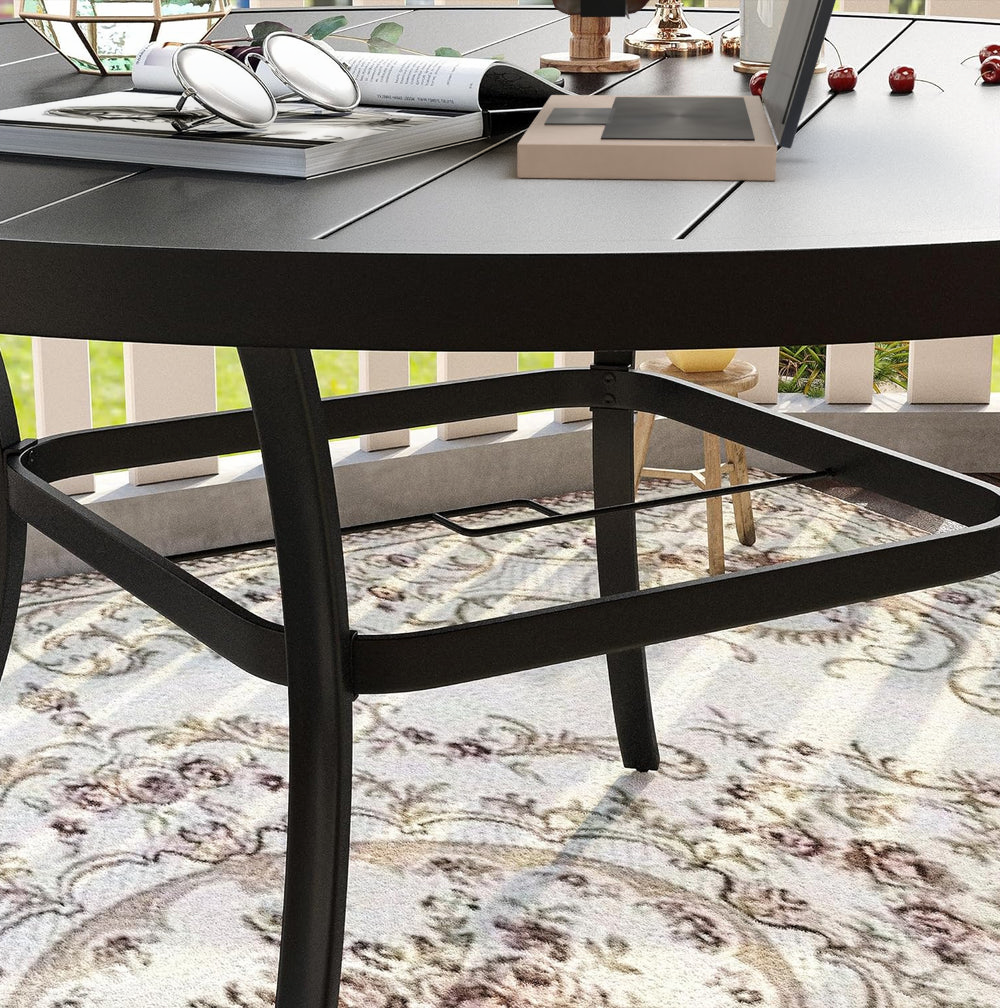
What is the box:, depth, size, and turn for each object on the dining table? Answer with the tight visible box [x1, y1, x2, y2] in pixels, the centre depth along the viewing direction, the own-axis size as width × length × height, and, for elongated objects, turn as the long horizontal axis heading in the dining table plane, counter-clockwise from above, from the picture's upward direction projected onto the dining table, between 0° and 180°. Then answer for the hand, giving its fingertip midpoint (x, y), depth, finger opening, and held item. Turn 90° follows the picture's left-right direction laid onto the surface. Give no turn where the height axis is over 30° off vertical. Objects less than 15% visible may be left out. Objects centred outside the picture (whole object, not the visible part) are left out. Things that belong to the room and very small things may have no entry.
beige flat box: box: [516, 94, 778, 182], centre depth 91 cm, size 15×22×2 cm
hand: (606, 10), depth 89 cm, fingers closed on fruit, 8 cm apart
